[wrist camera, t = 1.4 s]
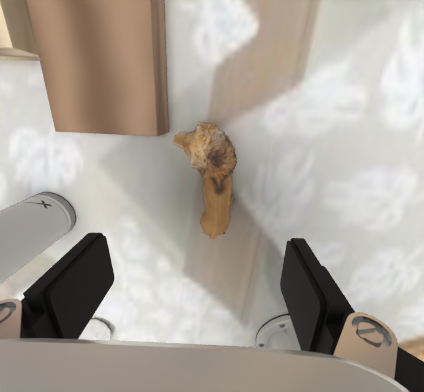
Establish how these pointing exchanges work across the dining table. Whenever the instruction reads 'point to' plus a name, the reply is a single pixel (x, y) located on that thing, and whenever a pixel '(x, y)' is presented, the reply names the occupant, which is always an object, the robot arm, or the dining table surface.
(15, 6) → the oak block
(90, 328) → the seated beast figurine
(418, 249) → the dining table surface
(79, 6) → the walnut block
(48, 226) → the travel mug
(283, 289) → the robot arm
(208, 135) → the lion figurine
